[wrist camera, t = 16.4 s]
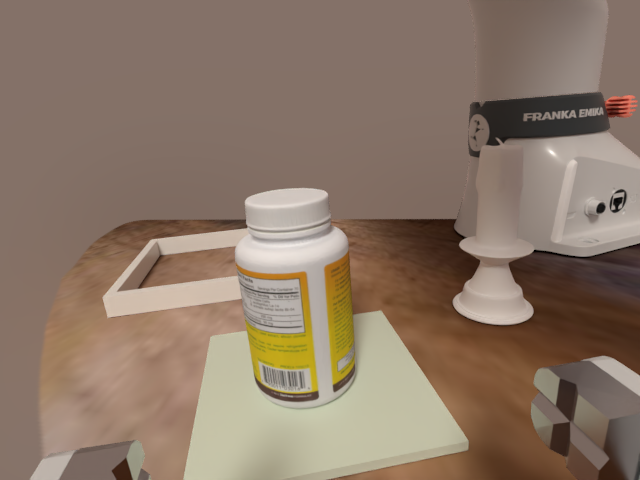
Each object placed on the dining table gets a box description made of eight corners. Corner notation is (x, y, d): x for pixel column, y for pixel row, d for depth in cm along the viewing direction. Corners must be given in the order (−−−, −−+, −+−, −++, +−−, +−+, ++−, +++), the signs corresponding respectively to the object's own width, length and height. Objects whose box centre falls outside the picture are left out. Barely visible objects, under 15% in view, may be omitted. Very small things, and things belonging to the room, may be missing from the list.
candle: (441, 313, 28) (445, 142, 24) (467, 286, 32) (474, 135, 28) (522, 334, 25) (541, 140, 21) (540, 301, 28) (559, 132, 25)
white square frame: (285, 238, 48) (284, 224, 47) (300, 290, 33) (298, 271, 33) (154, 254, 46) (151, 239, 45) (107, 317, 31) (102, 297, 30)
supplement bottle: (335, 340, 25) (323, 180, 21) (374, 395, 20) (366, 197, 16) (247, 362, 23) (221, 193, 20) (265, 429, 18) (234, 217, 15)
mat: (381, 316, 28) (381, 310, 28) (468, 450, 17) (468, 441, 17) (212, 342, 26) (210, 336, 26) (181, 509, 15) (179, 499, 15)
